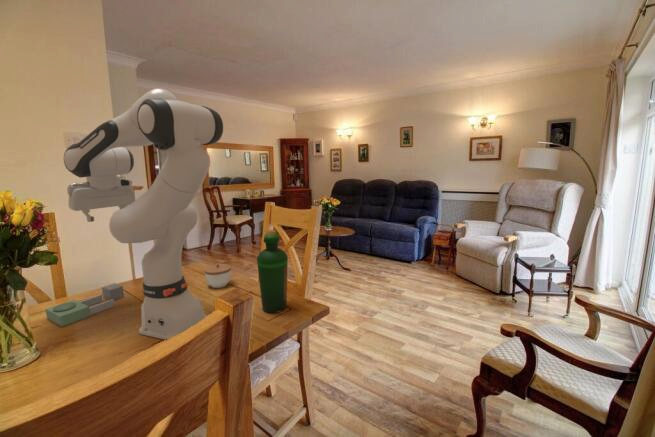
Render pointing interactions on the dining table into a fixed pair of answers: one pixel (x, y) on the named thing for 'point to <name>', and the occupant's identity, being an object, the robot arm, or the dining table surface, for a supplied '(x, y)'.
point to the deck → (77, 310)
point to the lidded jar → (218, 275)
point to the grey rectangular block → (113, 291)
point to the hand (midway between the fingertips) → (105, 219)
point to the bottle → (272, 274)
